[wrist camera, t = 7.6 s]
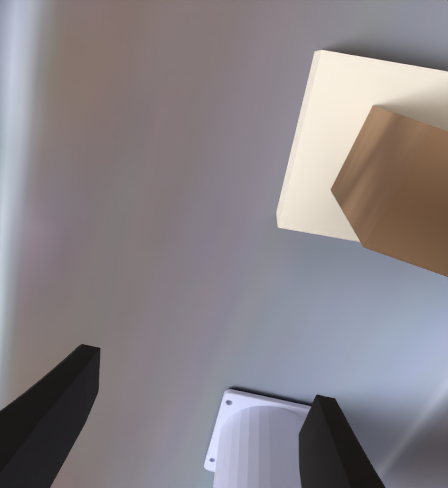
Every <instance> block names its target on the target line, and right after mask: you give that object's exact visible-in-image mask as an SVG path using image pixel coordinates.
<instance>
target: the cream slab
mask: <svg viewBox="0 0 448 488" xmlns="http://www.w3.org/2000/svg"><path fill="white" fill-rule="evenodd" d="M372 106H376V107H379V108H382V109H385V110H388V111H391V112H394V113H397V114H400V115H403V116H406V117H409V118H412V119H415V120H417V121H420V122H423V123H426V124H429V125H432V126H435V127H438V128H440V129H443V130H445V131H448V72H447V71H441V70H436V69H430V68H424V67H418V66H412V65H407V64H401V63H395V62H389V61H383V60H378V59H372V58H366V57H360V56H354V55H349V54H343V53H337V52H331V51H325V50H319V51H316V52H315V53H314V57H313V61H312V66H311V70H310V74H309V78H308V82H307V87H306V91H305V95H304V99H303V103H302V108H301V112H300V116H299V120H298V124H297V129H296V133H295V137H294V141H293V146H292V150H291V154H290V158H289V162H288V167H287V171H286V175H285V179H284V183H283V188H282V192H281V196H280V200H279V204H278V209H277V213H276V214H277V223H278V227H279V228H284V229H290V230H296V231H301V232H307V233H313V234H318V235H324V236H329V237H335V238H341V239H346V240H352V241H358V242H360V240H359V239H358V237H357V235H356V234H355V232H354V230H353V228H352V227H351V225H350V223H349V221H348V220H347V218H346V216H345V215H344V213H343V211H342V209H341V208H340V206H339V204H338V203H337V201H336V199H335V197H334V196H333V194H332V192H331V190H330V189H331V188H332V186H333V184H334V182H335V180H336V178H337V176H338V174H339V172H340V170H341V168H342V166H343V164H344V162H345V160H346V158H347V156H348V154H349V152H350V150H351V148H352V146H353V144H354V142H355V140H356V138H357V136H358V134H359V132H360V130H361V128H362V126H363V124H364V122H365V120H366V118H367V116H368V114H369V112H370V110H371V108H372Z"/></svg>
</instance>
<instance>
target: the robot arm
mask: <svg viewBox="0 0 448 488" xmlns="http://www.w3.org/2000/svg"><path fill="white" fill-rule="evenodd" d="M99 368H100V348H98V347H93V346H89V345H84V344H82V345H80V346H78V347H77V348H76V349H75V350H74V351H73V352H72V353H71V354H69V355H68V356H67V357H66V358H65V359H64V360H63V361H62V362H60V363H59V364H58V365H57V366H56V367H55V368H54V369H52V370H51V371H50V372H49V373H48V374H47V375H45V376H44V377H43V378H42V379H41V380H39V381H38V382H37V383H36V384H34V385H33V386H32V387H31V388H29V389H28V390H27V391H26V392H25V393H23V394H22V395H21V396H19V397H18V398H17V399H16V400H14V401H13V402H12V403H10V404H9V405H8V406H6V407H5V408H3V409H2V410H1V411H0V488H50V487H51V485H52V483H53V481H54V479H55V478H56V476H57V474H58V472H59V470H60V468H61V467H62V465H63V463H64V461H65V459H66V458H67V456H68V454H69V452H70V450H71V448H72V447H73V445H74V443H75V441H76V439H77V437H78V436H79V434H80V432H81V430H82V428H83V426H84V424H85V422H86V420H87V418H88V415H89V413H90V411H91V408H92V406H93V404H94V401H95V399H96V396H97V394H98V390H99ZM228 400H230V401H228ZM204 467H205V469H207V470H209V471H213V472H215V477H214V486H213V488H385V486H384V484H383V483H382V481H381V479H380V478H379V476H378V475H377V473H376V471H375V469H374V468H373V466H372V464H371V463H370V461H369V459H368V458H367V456H366V454H365V452H364V451H363V449H362V447H361V445H360V444H359V442H358V440H357V438H356V436H355V434H354V433H353V431H352V429H351V427H350V425H349V423H348V422H347V420H346V418H345V416H344V414H343V412H342V410H341V408H340V407H339V405H338V403H337V401H336V400H335V398H330V397H325V396H321V395H316V397H315V399H314V401H313V404H312V406H307V405H302V404H298V403H293V402H288V401H284V400H279V399H274V398H270V397H265V396H260V395H256V394H251V393H247V392H242V391H237V390H233V389H229V390H226V391H225V392H224V395H223V399H222V402H221V406H220V410H219V413H218V417H217V420H216V424H215V428H214V431H213V435H212V438H211V442H210V445H209V449H208V453H207V456H206V460H205V465H204Z"/></svg>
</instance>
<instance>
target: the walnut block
mask: <svg viewBox="0 0 448 488" xmlns="http://www.w3.org/2000/svg"><path fill="white" fill-rule="evenodd" d="M330 190H331V192H332V194H333V196H334V197H335V199H336V201H337V203H338V204H339V206H340V208H341V209H342V211H343V213H344V215H345V216H346V218H347V220H348V221H349V223H350V225H351V227H352V228H353V230H354V232H355V234H356V235H357V237H358V239H359V240H360V242H361V244H362V246H363V247H365V248H367V249H370V250H373V251H376V252H379V253H382V254H384V255H387V256H390V257H393V258H396V259H399V260H401V261H404V262H407V263H410V264H413V265H416V266H418V267H421V268H424V269H427V270H430V271H433V272H435V273H438V274H441V275H444V276H447V277H448V131H445V130H443V129H440V128H438V127H435V126H432V125H429V124H426V123H423V122H420V121H417V120H415V119H412V118H409V117H406V116H403V115H400V114H397V113H394V112H391V111H388V110H385V109H382V108H379V107H376V106H372V108H371V110H370V112H369V114H368V116H367V118H366V120H365V122H364V124H363V126H362V128H361V130H360V132H359V134H358V136H357V138H356V140H355V142H354V144H353V146H352V148H351V150H350V152H349V154H348V156H347V158H346V160H345V162H344V164H343V166H342V168H341V170H340V172H339V174H338V176H337V178H336V180H335V182H334V184H333V186H332V188H331V189H330Z"/></svg>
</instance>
